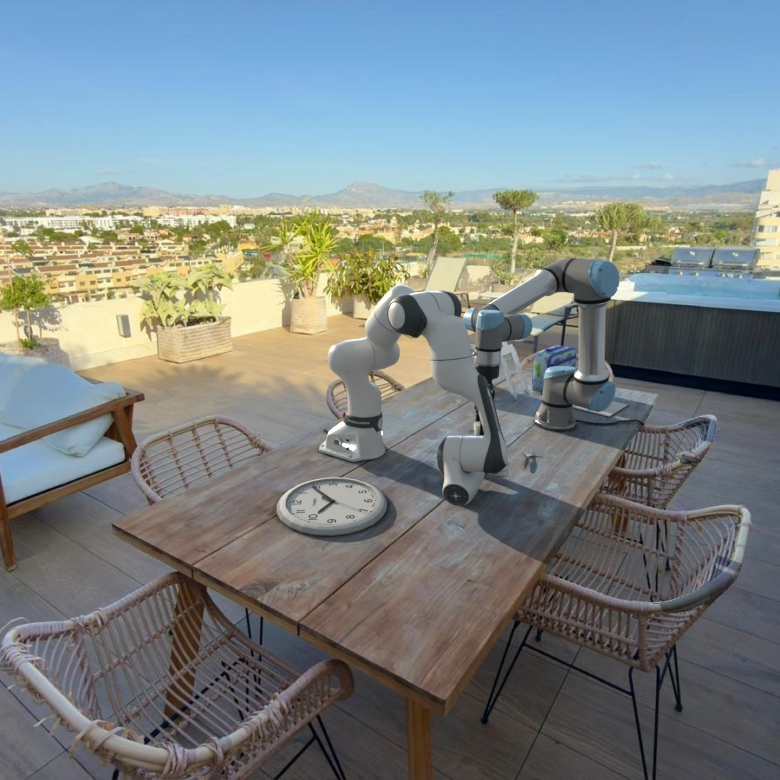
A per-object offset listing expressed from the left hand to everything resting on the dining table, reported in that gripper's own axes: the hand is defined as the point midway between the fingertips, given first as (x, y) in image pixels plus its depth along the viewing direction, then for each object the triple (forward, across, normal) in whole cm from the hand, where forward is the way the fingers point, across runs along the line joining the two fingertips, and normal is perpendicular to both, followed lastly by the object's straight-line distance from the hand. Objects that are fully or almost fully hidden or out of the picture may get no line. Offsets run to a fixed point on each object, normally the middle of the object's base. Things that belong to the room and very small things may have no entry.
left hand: (480, 452), depth 162 cm
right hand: (-1, 0, -6) cm, 6 cm away
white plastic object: (+82, +18, +6) cm, 84 cm away
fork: (+14, -13, +6) cm, 20 cm away
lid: (-1, 0, -10) cm, 10 cm away
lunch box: (+99, -13, +6) cm, 100 cm away
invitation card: (+84, -35, +6) cm, 91 cm away
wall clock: (-37, +32, +6) cm, 50 cm away
